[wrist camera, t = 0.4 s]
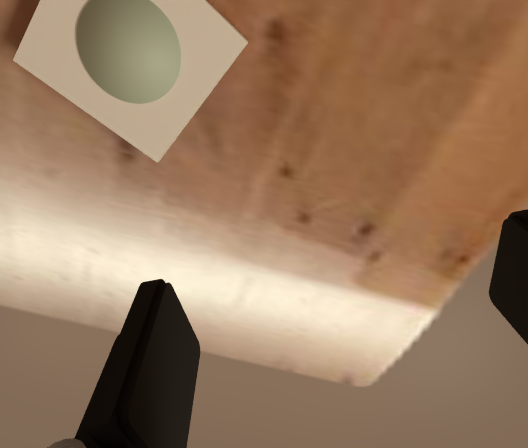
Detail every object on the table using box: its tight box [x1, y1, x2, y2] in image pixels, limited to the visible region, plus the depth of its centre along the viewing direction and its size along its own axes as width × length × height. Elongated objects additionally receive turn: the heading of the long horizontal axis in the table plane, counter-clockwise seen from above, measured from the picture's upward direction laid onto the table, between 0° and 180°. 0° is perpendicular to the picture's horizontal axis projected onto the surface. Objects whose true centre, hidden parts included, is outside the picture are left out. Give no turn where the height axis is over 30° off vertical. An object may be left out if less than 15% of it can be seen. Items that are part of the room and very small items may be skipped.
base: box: [13, 0, 248, 163], centre depth 31 cm, size 15×15×3 cm
